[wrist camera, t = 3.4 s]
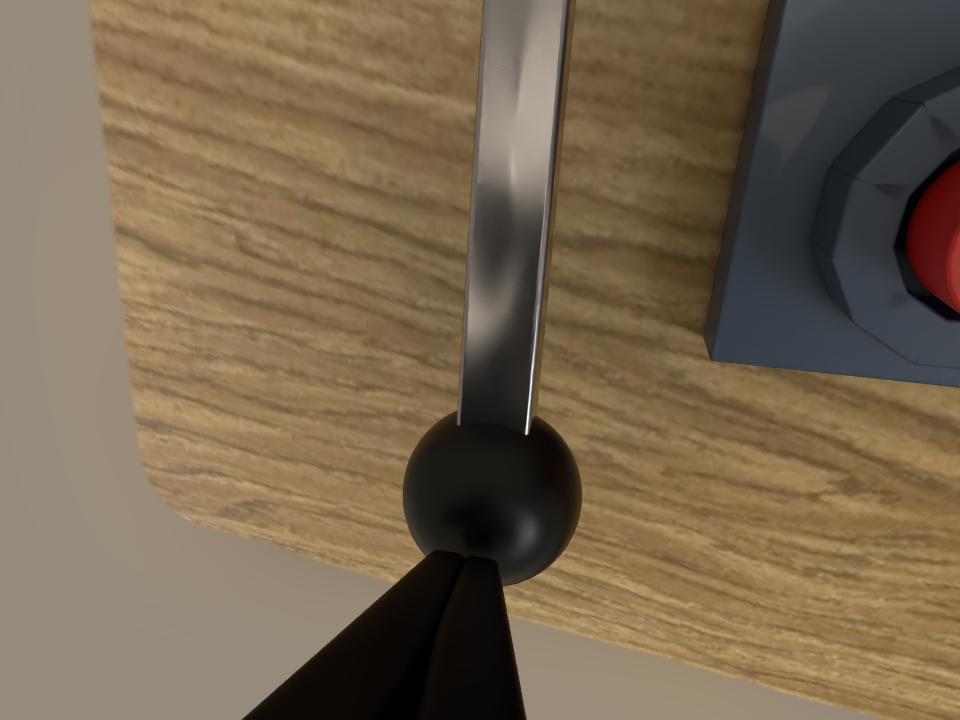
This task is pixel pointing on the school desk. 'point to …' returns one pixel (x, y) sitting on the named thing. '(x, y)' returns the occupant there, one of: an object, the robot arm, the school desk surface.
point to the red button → (938, 238)
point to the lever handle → (505, 316)
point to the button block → (841, 193)
